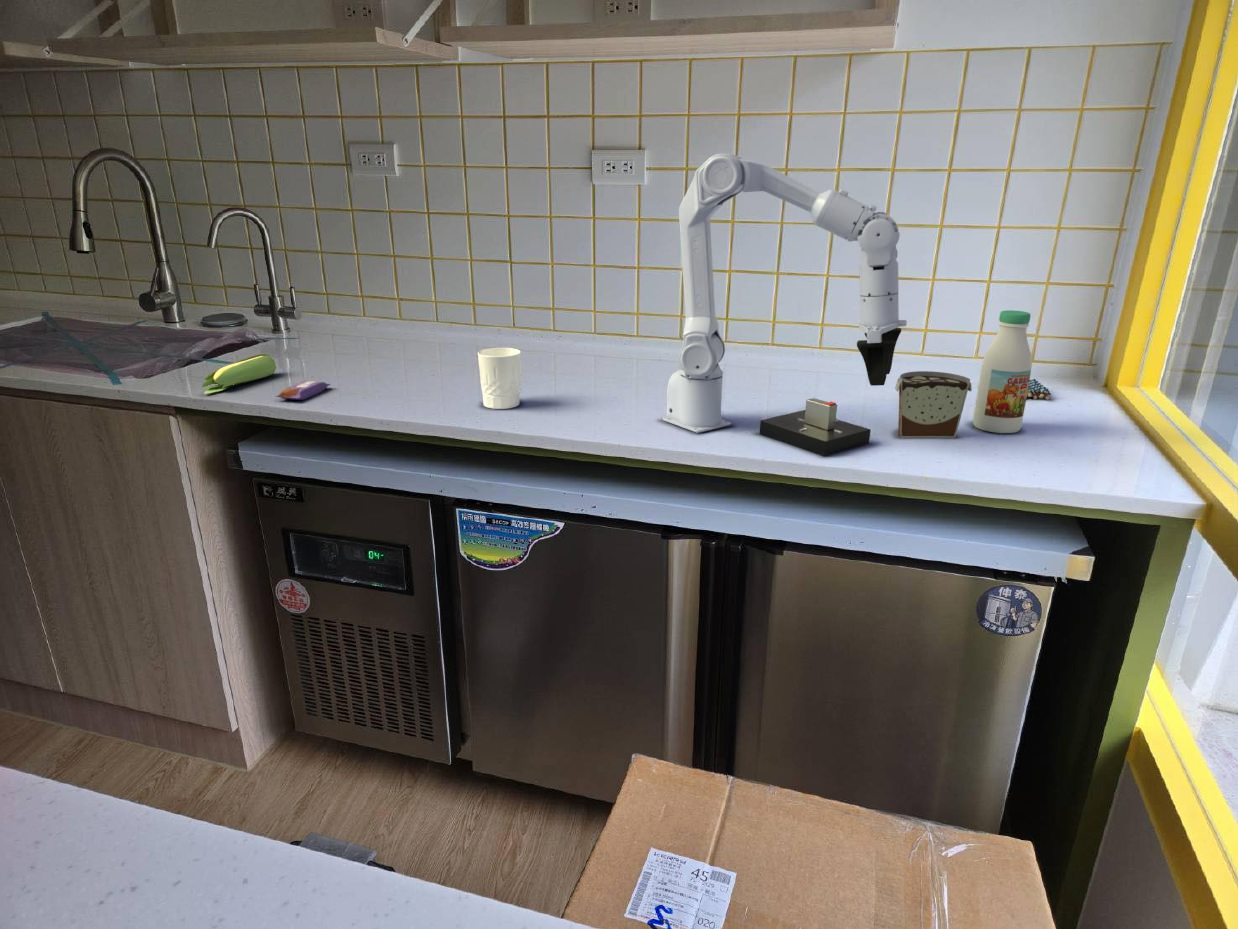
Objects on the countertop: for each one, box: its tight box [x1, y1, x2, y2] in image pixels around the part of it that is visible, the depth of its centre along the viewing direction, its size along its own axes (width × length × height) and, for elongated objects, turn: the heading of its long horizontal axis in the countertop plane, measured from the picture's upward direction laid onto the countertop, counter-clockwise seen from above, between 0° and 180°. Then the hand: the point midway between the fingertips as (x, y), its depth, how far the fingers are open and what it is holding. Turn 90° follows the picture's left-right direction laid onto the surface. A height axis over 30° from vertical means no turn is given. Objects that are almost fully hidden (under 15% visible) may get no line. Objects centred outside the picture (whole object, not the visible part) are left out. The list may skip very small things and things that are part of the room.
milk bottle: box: [972, 309, 1033, 434], centre depth 139 cm, size 8×8×20 cm
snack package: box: [275, 380, 332, 401], centre depth 159 cm, size 12×2×5 cm
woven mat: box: [1027, 378, 1052, 401], centre depth 164 cm, size 10×11×2 cm
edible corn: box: [201, 353, 277, 395], centre depth 166 cm, size 5×20×5 cm, turn 163°
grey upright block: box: [804, 397, 838, 430], centre depth 133 cm, size 5×2×4 cm, turn 36°
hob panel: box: [759, 409, 872, 457], centre depth 135 cm, size 14×11×3 cm
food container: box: [894, 370, 973, 439], centre depth 138 cm, size 12×6×10 cm, turn 92°
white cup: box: [477, 347, 522, 410], centre depth 152 cm, size 8×8×10 cm
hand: (880, 379), depth 132 cm, fingers open, 7 cm apart
